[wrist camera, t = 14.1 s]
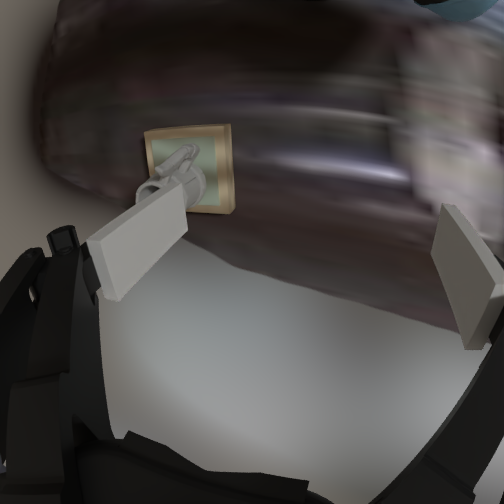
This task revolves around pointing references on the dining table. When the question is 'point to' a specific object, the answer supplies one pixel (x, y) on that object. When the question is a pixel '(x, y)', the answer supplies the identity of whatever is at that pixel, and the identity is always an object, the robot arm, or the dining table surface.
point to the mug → (178, 176)
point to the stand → (199, 160)
